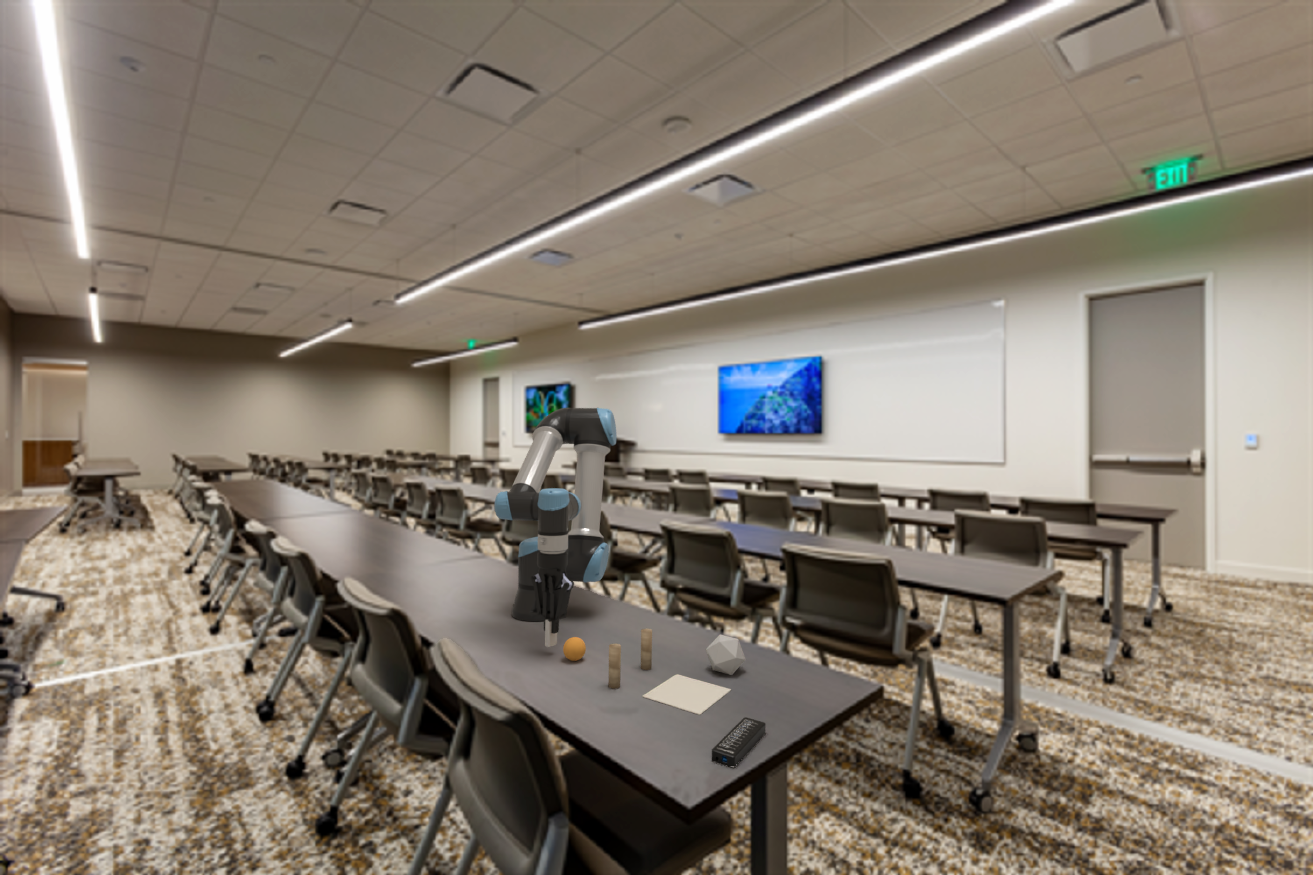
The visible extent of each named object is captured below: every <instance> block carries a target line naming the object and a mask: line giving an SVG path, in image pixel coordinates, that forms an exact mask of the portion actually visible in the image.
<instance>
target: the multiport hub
mask: <svg viewBox="0 0 1313 875" xmlns="http://www.w3.org/2000/svg"><path fill="white" fill-rule="evenodd" d="M766 727H767V726H766V722H764V721H760V720H756V719H755V718H754V719H753V718H750V717H745V716H744V717H743V718H742V719H741V720H740V721H738V723H736V725H735V726H734V727H733V728H732V729H730V730H729V732H728V733H727V734H726V735H725V736H723V738H722V739H721V740H719V742H718V743H717V744H716V745H714V746H713V747H712V749H711V762H714V763H717V764H720V763H721V764H720V765H723V764H724V766H726V765H728V766H727V767H729V766H736V764H737V763H738V762H739V761H740V760H741V759H742V760H743V759H744V758H745V757H746V756H747V755H748V753H749V752H750V751H751V750H753V748H754V747H755V745H757V743H758V742H759V741H760V740H761V739H762V738H763V737H764V735H766ZM745 755H746V756H745ZM744 756H745V757H744ZM742 760H741V761H742ZM741 761H740V762H741ZM740 762H739V763H740ZM739 763H738V764H739ZM736 767H737V766H736Z"/></svg>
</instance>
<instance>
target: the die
mask: <svg viewBox="0 0 1313 875" xmlns="http://www.w3.org/2000/svg"><path fill="white" fill-rule="evenodd" d="M705 652H706V655H707V656H708V660H709V664H710V665H711V668H712V669H711V670H712V671H715V672H719V673H722V674H726V675H729V676H733V674H735V672H736V671H737V670H738V669H739V668H741V667H740V666H742V665H743V663H745V661H746V660H747V659H746V656H745V654H744V651H743V648H742V645H741V643H740V640H739V638H735V637H731V636H728V635H723V634H719V635H718V636H717V637H716V638H715V639H714V640H713V641H712V642H711V643H710V644H709V645H708V646H707V648H705Z"/></svg>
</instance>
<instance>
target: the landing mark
mask: <svg viewBox="0 0 1313 875" xmlns="http://www.w3.org/2000/svg"><path fill="white" fill-rule="evenodd" d="M731 691H732V689H731V688H728V687H725V686H722V685H717V684H713V683H709V682H706V681H703V680H699V679H695V678H692V677H688V676H686V675H681V674H679V673H677V674H675V675H673V676H671V677H669V678H668V679H667V680H665V681H664V682H662V683H661V684H659V685H658V686H656V687H654V688H652V689H651V690H650V691H648V692H647V693H645V694H643V695H642V696H641V697H642V698H645V699H647V700H651V701H653V702H656V703H660V704H663V705H666V706H669V707H673V708H676V709H679V710H683V711H685V712H689V713H691V714H695V715H698V716H701V715H702V714H703V713H705V712H706V711H707V710H709V708H711V707H712V706H713V705H714V704H716V703H717V702H718V701H720V700H721V699H723V698H724V696H727V694H729V693H730V692H731Z"/></svg>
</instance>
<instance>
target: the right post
mask: <svg viewBox="0 0 1313 875" xmlns="http://www.w3.org/2000/svg"><path fill="white" fill-rule="evenodd" d="M640 632H641V633H640V669H641V670H643V671H649V670H652V664H653V662H652V660H653V658H652V656H653V653H652V652H653V629H652V628H642V629H641V631H640Z"/></svg>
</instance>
